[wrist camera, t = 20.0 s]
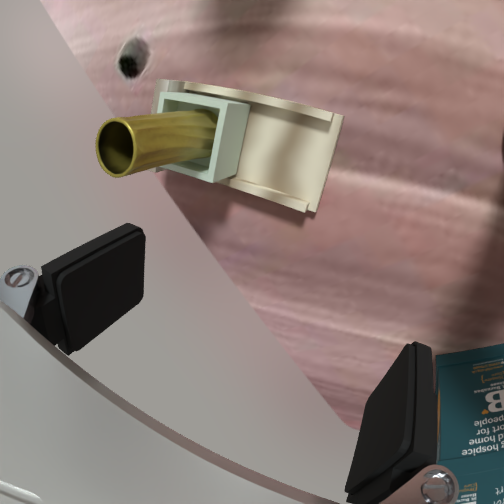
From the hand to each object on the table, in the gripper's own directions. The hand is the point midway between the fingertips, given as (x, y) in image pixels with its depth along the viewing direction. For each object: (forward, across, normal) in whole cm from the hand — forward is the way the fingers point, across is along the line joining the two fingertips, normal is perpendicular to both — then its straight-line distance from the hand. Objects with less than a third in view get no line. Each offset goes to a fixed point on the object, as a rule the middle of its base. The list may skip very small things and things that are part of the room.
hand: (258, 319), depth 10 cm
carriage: (+29, +18, 0) cm, 34 cm away
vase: (+26, +18, 0) cm, 32 cm away
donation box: (+31, -32, +22) cm, 49 cm away
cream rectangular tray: (+30, +14, 0) cm, 33 cm away
